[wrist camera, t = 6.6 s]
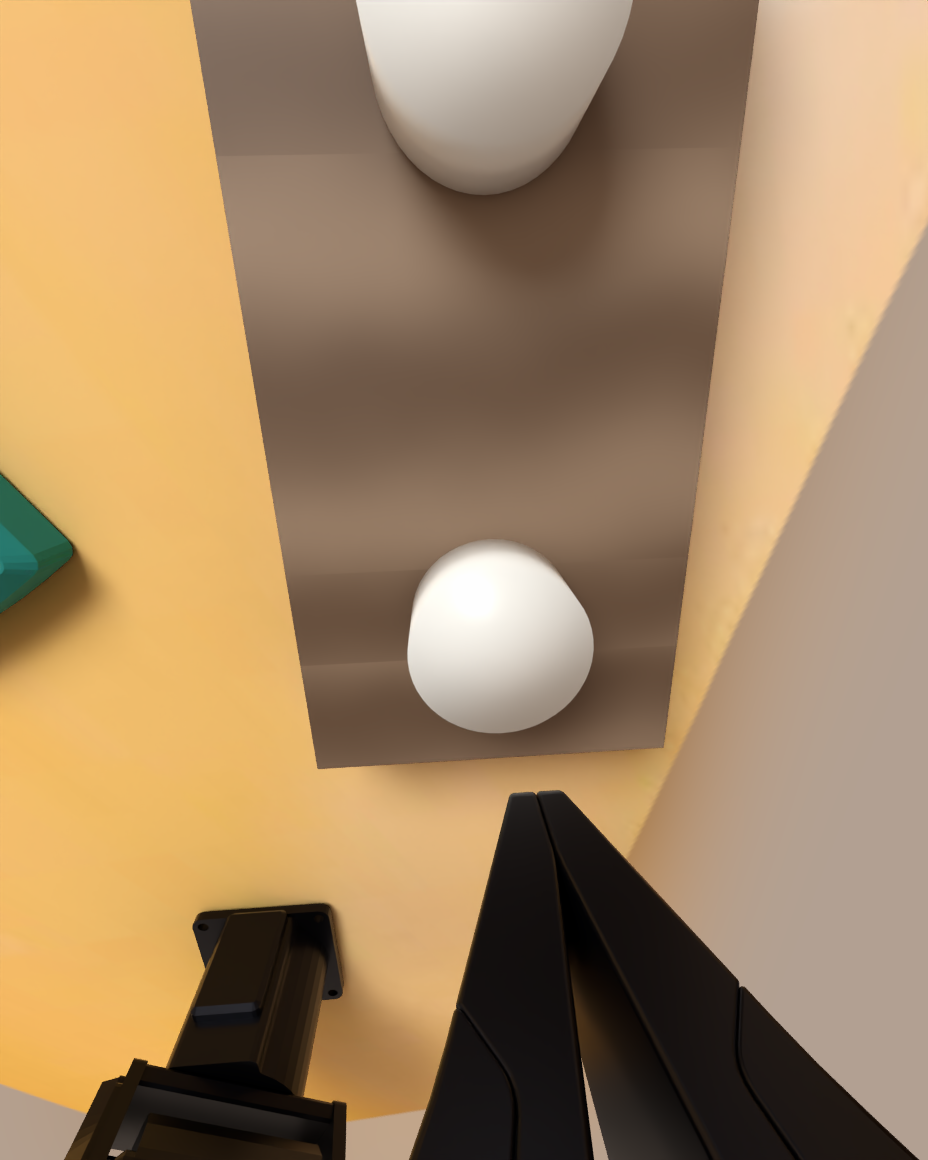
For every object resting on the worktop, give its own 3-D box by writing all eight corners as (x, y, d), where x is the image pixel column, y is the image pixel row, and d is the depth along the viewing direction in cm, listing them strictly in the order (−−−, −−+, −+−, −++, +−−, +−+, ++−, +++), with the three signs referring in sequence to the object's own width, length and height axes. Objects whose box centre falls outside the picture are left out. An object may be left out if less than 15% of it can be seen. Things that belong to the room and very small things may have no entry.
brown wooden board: (623, 685, 21) (663, 747, 18) (338, 701, 21) (317, 769, 17) (695, -116, 13) (800, -322, 9) (224, -117, 13) (134, -335, 9)
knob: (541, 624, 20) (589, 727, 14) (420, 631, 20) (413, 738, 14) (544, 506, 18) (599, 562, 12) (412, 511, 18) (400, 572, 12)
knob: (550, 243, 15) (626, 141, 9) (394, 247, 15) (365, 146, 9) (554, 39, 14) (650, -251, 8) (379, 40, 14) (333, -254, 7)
